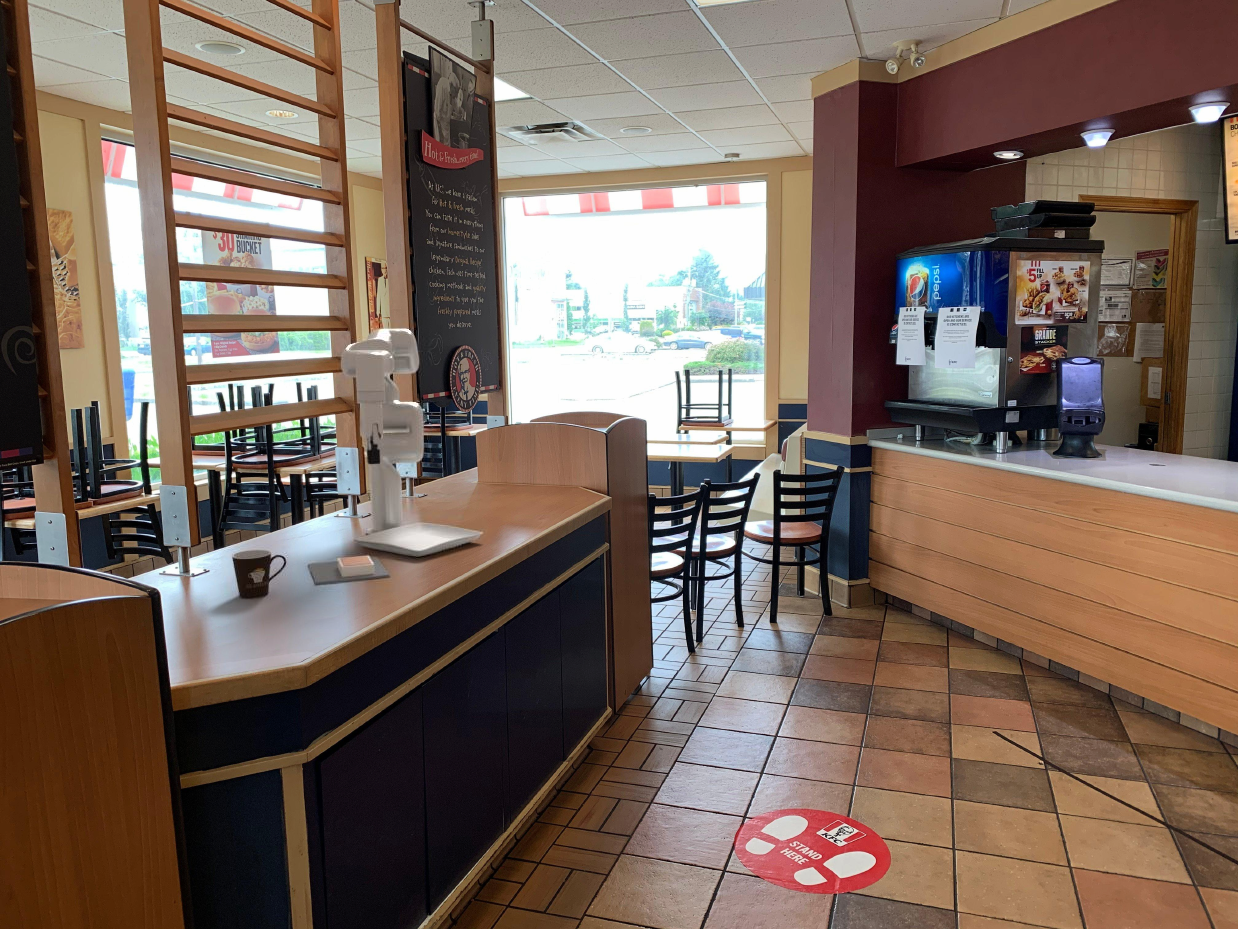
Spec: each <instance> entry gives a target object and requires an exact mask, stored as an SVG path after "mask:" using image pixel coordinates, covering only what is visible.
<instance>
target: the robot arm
mask: <svg viewBox="0 0 1238 929" xmlns="http://www.w3.org/2000/svg"><path fill="white" fill-rule="evenodd" d="M419 367H420V358H419V350H418V344H417V340H416V337H415V335H414V333H413V332H412V331H411V330H409V329H407V328H378V329H373V330H372V331H370V333H369V334H368V336H367V338H366V339H365V340H361V341H357V342H354V343H351V344H349V345H347V346H346V347H345V348H344V350H343V352H342V354H341V358H340V368H341V371H342V373H343V374H344V376H346V377H348V378H355V384H356V403H357V404H360V407H359V408H360V409H359V425H360V426H359V429H360V430H359V431H360V432H359V435H360V437H361V438H362V439H363V440H365V451H366V458H367V459H366V460H367V461H366V462H367V464H368V470H369V488H370V489H369V490H370V511H371V513H370V514H371V515H370V516H371V517H370V518H371V527H369V528H367V529H366V534H367V535H370V534H373V533H377V532H380V531H384V530H388V529H392V528H397V527H401V526H404V525H403V524H404V520H403V518H404V517H403V493H402V492H403V488H402V476H401V474H400V472H399V471H398V470H397V468H396V467H395V466H394V465H393V464H407V463H408V464H409V463H411V464H412V463H413V464H414V463H418V462H420V461H421V460H422V459H423V457H424V450H425V447H424V446H425V445H424V444H425V443H424V440H425V439H424V433H425V432H424V414H423V413H424V412H423V409H422V406H421V405H420V404H419V403H417V402H415V401H414V402H413V401H400V389H399V387H398V385H396V383H395V382H394V381H393V380H392V379H391V378H390V377H389V376H391V375H392V374H393V375H395V374H397V375H399V374H400V375H402V374H405V375H408V374H414V373H416V372H418V369H419Z"/></svg>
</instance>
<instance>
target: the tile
mask: <svg viewBox="0 0 1238 929" xmlns="http://www.w3.org/2000/svg"><path fill="white" fill-rule="evenodd" d="M371 558H372V557H371V556H370V555H360V556H359V555H358V556H348V557H347V556H346V557H338V558H337V561H338V568H339V571H340V573H341V575H342V577H347V576H356V575H366V574H375V572H374V563H373V562H372V560H371Z"/></svg>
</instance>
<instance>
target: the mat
mask: <svg viewBox="0 0 1238 929" xmlns="http://www.w3.org/2000/svg"><path fill="white" fill-rule="evenodd" d="M370 558H371V560H372V562H373V563H374V572H375V574H366V575H356V576H347V577H342V575H341V573H340V571H339V568H338V560H332V561H324V562H315V563H314V562H313V563H307V566H308V569H309V572H310V574H311V575H312V578H313V580H314V582H315V585H316V586H317V585H318V586H320V585H328V584H335V583H336V584H337V583H345V582H346V583H347V582H355V581H364V580H372V579H382V578H390V573H389V572H388V571H387V569H386V568H385V566H384V565H383V564H382V562H380V560H379V558H377V556H373V557H372V556H371V557H370Z"/></svg>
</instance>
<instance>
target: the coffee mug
mask: <svg viewBox="0 0 1238 929" xmlns="http://www.w3.org/2000/svg"><path fill="white" fill-rule="evenodd" d="M231 558H232V563H233V568H234V573H235V574H234V575H235V579H236V584H237V590H238V594H239V595H238V596H239V598H241V599H245V600H248V599H250V600H252V599H259V598H263V597H266V596H268V595H269V591H270V590H269V589H270V582H271V581H272V580H273V579H274V578H276V577H277V576H279V574H280V573H282V571H283V570H284V569H285V567H286V564H287V559H286V557H285V556H284V555H281V554H276V555H275V554H274V556H272V552H271V551H270V550H267V549H249V550H243V551H238V552H235V553H233V554H232V555H231ZM277 558H280V559H283V564H282V566H281V568H280V569H279V570H277V572H274V574H273V575H271V564H272V562H273V560H275V559H277ZM270 575H271V576H270Z"/></svg>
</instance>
